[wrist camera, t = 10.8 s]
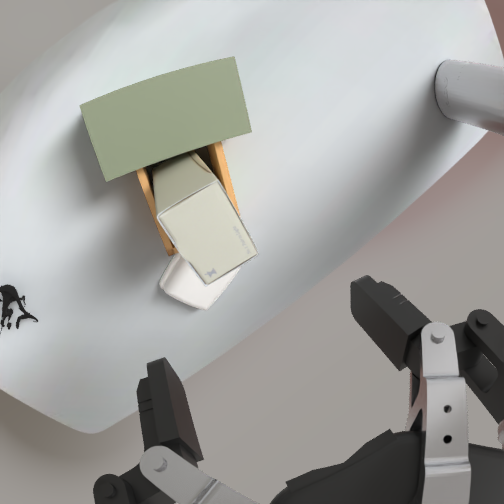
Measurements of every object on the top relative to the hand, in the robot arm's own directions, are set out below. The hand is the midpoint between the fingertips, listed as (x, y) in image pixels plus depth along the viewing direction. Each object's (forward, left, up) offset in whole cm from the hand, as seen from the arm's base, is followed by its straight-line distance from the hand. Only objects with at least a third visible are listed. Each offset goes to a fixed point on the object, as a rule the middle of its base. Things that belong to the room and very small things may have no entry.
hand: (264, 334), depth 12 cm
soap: (+1, +9, -21) cm, 23 cm away
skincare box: (0, 0, -21) cm, 21 cm away
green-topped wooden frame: (0, -3, -21) cm, 21 cm away
